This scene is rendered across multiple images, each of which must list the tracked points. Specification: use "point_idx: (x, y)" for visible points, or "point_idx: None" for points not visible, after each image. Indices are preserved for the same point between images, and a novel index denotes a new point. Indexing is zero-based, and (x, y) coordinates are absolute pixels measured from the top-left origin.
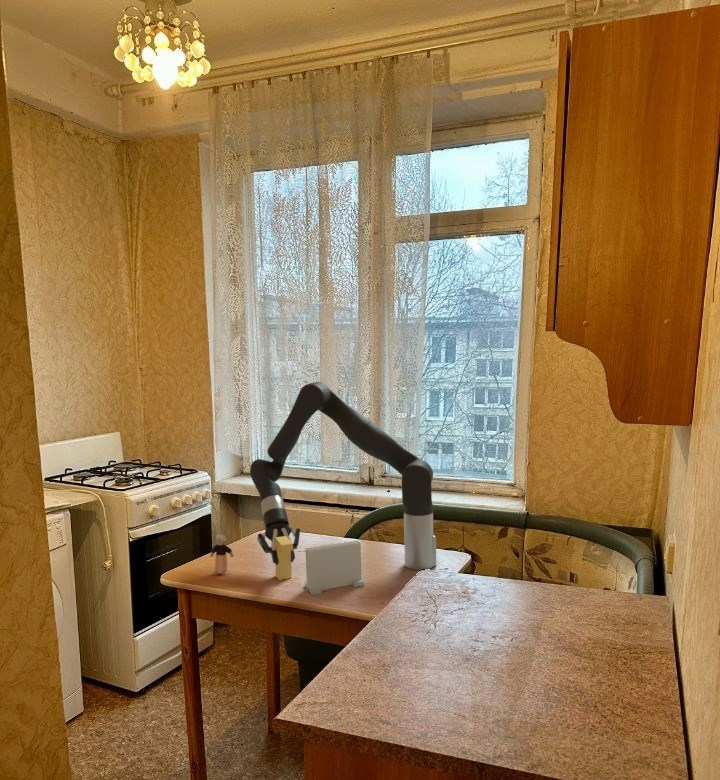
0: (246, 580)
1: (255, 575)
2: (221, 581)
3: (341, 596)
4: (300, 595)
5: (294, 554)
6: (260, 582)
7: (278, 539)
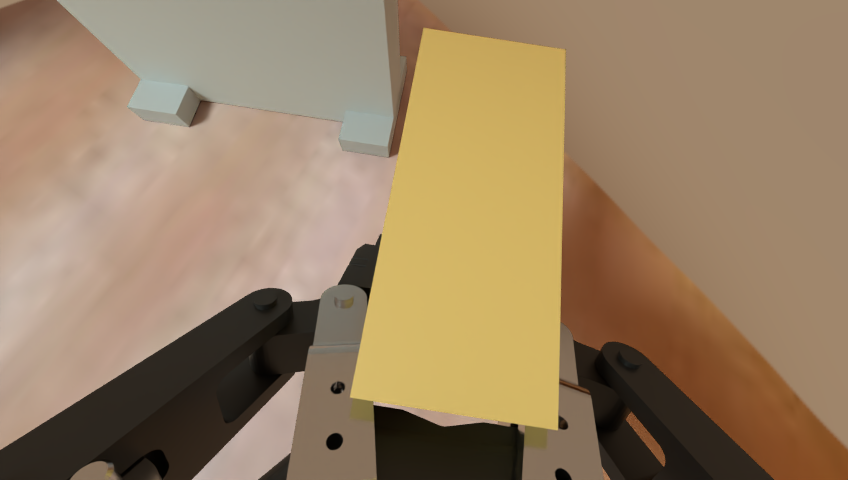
0: None
1: None
2: (768, 469)
3: None
4: None
5: (351, 259)
6: (561, 319)
7: (538, 284)
